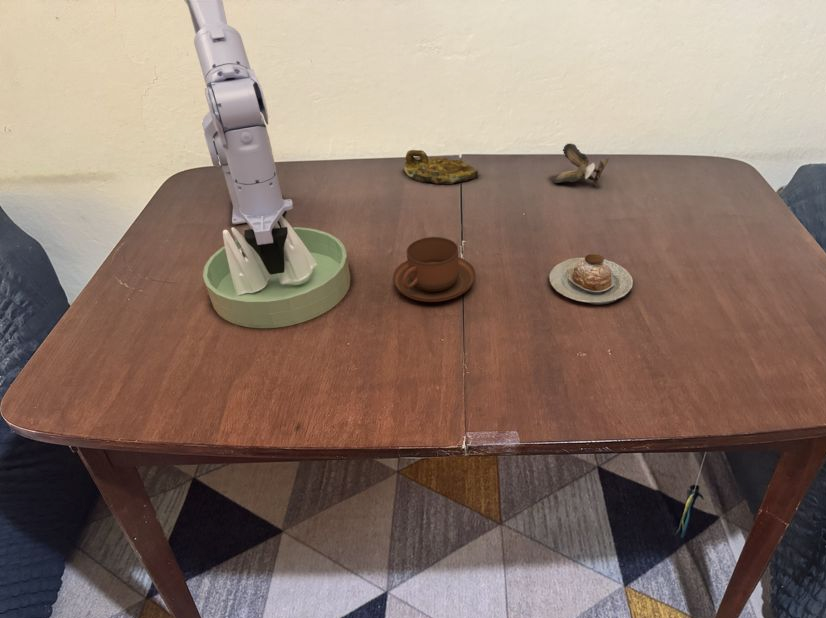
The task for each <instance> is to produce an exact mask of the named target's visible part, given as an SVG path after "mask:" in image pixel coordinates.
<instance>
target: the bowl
mask: <svg viewBox="0 0 826 618" xmlns="http://www.w3.org/2000/svg"><path fill="white" fill-rule="evenodd" d="M291 227H292V226H291ZM292 229H293V230H294V231H295V233H296V234H297V235H298V237H299V238H300V239H301V241H302V242H303V244H304V245H305V246H306V248H307V249H308V251H309V252H310V253H311V255H312V256H313V258H314V259H315V260H316V261H317V265H316V267H315V268H314V270H313V273H312V275H311V277H310V279H309V280H308V281H307V282H305V283H304V284H301V285H292V284H281V283H280V280H279V275H278V274H274V276H273V277H270V278H269V279H268V281H267V283H268V284H267V285H266V286H265V287H264V288H262V289H261V290H259V291H256V292H254V293H248V292H247V293H244V294H240V295H239V296H237V295H236V292H235V289H234V285H233V280H232V277H231V272H230V268H229V264H228V259H227V255H226V250H225V245H223V246H222V247H220V248H219V249H218V250H216V251H215V252H214V253H213V254H212V255H211V256H210V257H209V259H208V260H207V262H206V263H205V265H204V267H203V273H202V279H203V282H204V285H205V289H206V291H207V294H208V296H209V299H210V302H211V305H212V307H213V309H214V311H215V312H216V313H217V315H219V316H220V317H221V318H222V319H223V320H225V321H226V322H229V323H231V324H233V325H237V326H240V327H245V328H251V329H276V328H284V327H290V326H294V325H298V324H301V323H305V322H308V321H310V320H313V319H315V318H317V317H320V316H322V315H323V314H325V313H327V312H329V311H330V310H331V309H333V308H334V307H335V306H337V305H338V304H340V302H341V301H342V300H343V299H344V297H345V296H346V295H347V293H348V291H349V289H350V287H351V286H350V285H351V279H352V278H351V272H350V268H349V267H350V266H349V261H348V254H347V250H346V246H345V245H344V244H343V243H342V241H341V240H340V239H339V238H338V237H336V236H334V235H332V234H331V233H329V232H326V231H322V230H319V229H315V228H310V227H309V228H308V227H301V226H300V227H299V226H297V227H296V226H295V227H292ZM243 237H244V236H243ZM244 238H245V237H244ZM233 240H234V242H235V244H236V245H237V247H238V249H240V247H239V245H238V243H237V241H236V239H233ZM256 253H257V252H256ZM257 254H258V253H257Z"/></svg>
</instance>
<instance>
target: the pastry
mask: <svg viewBox="0 0 826 618" xmlns="http://www.w3.org/2000/svg"><path fill="white" fill-rule="evenodd" d="M548 278H549V283H550V285H551V286H552V288H553V289H554V290H555V291H556V293H558V294H560V295H562V296H564V297H566V298H568V299H571V300H574V301H577V302H582V303H588V304H591V305H594V306H597V305H598V306H600V305H601V306H603V305H609V304H612V303H615V302H616V301H618V300H619V299H624V297H626V296H627V295H628V293H629V292H630V291H631V290H632V288H633V286H634V281H633V277H632V275H631V273H629V271H628V270H627V269H626V268H624V267H623V266H621V265H620V264H619V263H616V262H614V261H612V260H608V259H605V257H604V256H603V255H601V254H598V253H591V254H590V253H589V254H587V255H585V256H584V257H573V258H568V259H566V260H563V261H561V262H560V263H558V264H555V266H553V268H552V269H551V270H550V272H549V275H548Z"/></svg>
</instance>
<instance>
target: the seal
mask: <svg viewBox="0 0 826 618" xmlns="http://www.w3.org/2000/svg"><path fill="white" fill-rule="evenodd" d="M415 157H418V158H419V159H417V158H415ZM403 169H404V170H403V171H404V173H405V174H406V176H407V177H409V179H410V178H411V179H412V180H415V181H417V182H421V183H432V184H437V185H438V184H440V185H448V184H449V185H451V184H455V183H461V182H467V181H469V180H472V179H475V178H476V177H477V176H478V175H479V171H478V170H477V169H476V168H475V167H473V166H472V165H470V164H469V163H466V162H464V161H463V160H461V159H456V160H455V159H449V158H447V157H443V158H442V157H434V156H431V157H430V158H429V156H428V155H427V153H426V152H425V151H424V150H421V149H418V150H416V149H411V150H410V149H409V150H408V151H407V152H406V154H405V162H404V164H403Z"/></svg>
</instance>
